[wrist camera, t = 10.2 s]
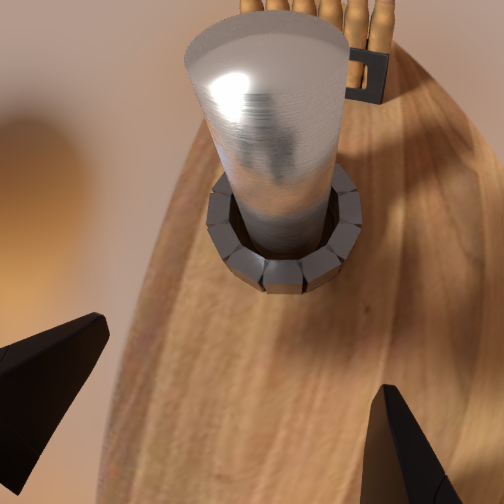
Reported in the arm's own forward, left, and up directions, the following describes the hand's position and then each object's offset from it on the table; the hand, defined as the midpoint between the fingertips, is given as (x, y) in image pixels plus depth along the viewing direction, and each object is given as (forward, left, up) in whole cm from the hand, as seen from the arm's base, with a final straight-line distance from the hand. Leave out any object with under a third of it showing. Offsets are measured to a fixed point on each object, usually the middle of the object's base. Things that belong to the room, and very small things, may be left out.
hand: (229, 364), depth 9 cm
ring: (+5, +6, -8) cm, 11 cm away
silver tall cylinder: (+5, +6, -8) cm, 11 cm away
